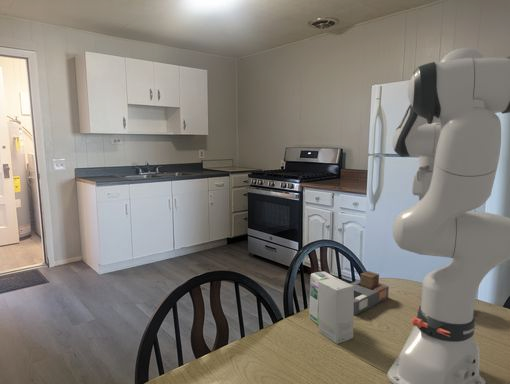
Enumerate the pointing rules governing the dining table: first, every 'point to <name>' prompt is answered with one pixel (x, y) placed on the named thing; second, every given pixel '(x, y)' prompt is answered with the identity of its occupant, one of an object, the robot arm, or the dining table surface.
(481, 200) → the robot arm
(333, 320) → the skincare box
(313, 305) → the syrup box
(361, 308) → the socket block
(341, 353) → the dining table surface
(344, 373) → the dining table surface
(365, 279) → the walnut plug
